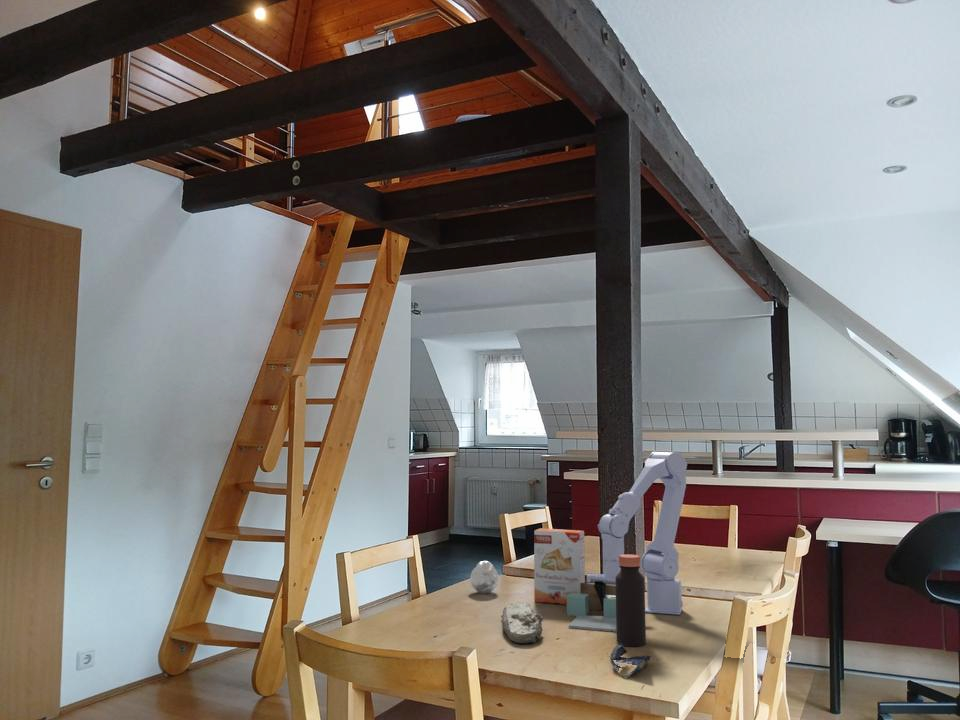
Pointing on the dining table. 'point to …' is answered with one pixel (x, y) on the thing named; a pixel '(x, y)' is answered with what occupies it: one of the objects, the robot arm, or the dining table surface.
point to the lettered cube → (610, 606)
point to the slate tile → (594, 623)
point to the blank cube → (577, 604)
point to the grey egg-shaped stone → (484, 577)
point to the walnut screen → (595, 594)
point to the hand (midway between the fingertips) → (614, 611)
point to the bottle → (630, 602)
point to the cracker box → (558, 564)
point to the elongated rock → (521, 623)
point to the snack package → (627, 659)
